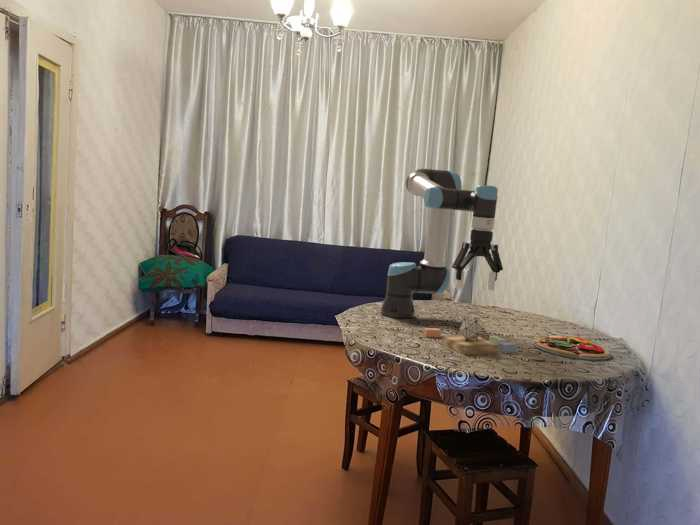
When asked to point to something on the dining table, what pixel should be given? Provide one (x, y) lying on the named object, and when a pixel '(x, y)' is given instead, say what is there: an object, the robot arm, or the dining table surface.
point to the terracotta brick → (431, 332)
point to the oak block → (469, 345)
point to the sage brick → (496, 339)
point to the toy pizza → (572, 348)
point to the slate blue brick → (507, 347)
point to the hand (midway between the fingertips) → (475, 289)
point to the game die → (470, 329)
